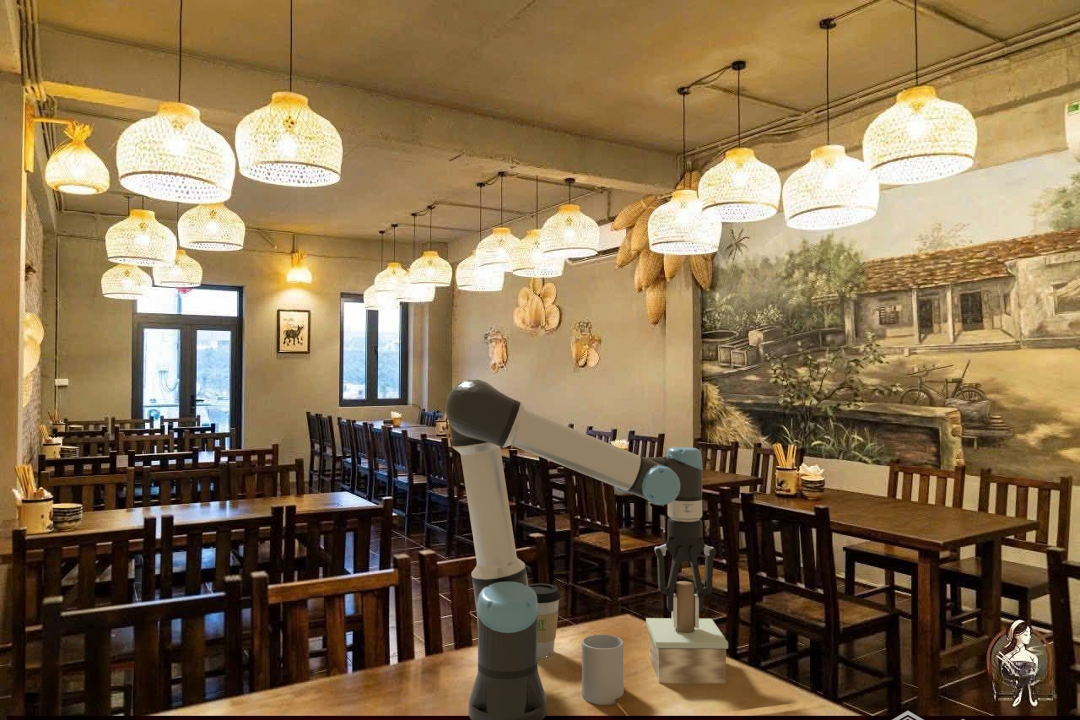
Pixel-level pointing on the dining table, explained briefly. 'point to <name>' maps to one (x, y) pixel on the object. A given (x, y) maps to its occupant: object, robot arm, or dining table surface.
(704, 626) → the lid
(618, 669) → the mug
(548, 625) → the coffee cup
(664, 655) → the box
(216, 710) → the dining table surface
